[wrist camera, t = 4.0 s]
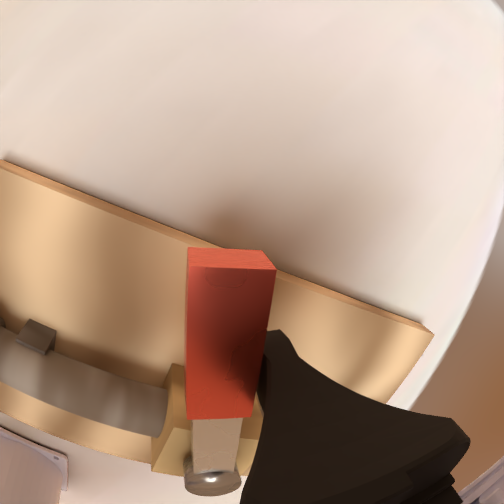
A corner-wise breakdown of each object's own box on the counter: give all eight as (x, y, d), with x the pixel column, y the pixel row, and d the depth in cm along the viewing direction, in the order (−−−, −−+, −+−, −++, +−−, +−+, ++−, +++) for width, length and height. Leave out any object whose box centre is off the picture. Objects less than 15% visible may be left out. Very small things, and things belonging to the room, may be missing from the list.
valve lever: (233, 473, 12) (239, 495, 10) (183, 475, 11) (186, 498, 10) (268, 250, 8) (285, 269, 7) (179, 246, 8) (179, 265, 7)
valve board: (-13, 387, 14) (-40, 441, 8) (1, 159, 10) (-74, 172, 5) (313, 462, 23) (335, 509, 18) (422, 324, 20) (472, 366, 14)
